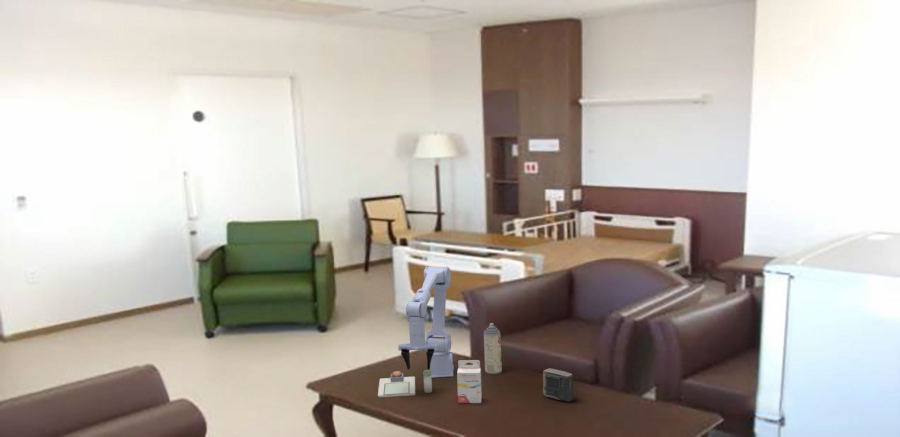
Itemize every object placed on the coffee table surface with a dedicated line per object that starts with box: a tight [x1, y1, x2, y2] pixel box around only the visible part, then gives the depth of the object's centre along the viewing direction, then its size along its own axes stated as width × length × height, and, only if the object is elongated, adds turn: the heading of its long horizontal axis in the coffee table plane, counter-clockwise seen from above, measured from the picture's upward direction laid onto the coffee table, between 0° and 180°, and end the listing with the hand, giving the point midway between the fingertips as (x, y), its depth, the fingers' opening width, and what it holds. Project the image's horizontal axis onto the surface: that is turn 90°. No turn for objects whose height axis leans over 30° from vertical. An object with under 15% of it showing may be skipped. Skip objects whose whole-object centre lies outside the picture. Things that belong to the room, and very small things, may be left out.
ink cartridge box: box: [456, 359, 483, 404], centre depth 260 cm, size 9×5×15 cm, turn 84°
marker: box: [422, 369, 433, 394], centre depth 272 cm, size 3×3×8 cm
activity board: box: [377, 372, 416, 398], centre depth 277 cm, size 14×18×3 cm
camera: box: [542, 368, 574, 403], centre depth 259 cm, size 11×6×10 cm, turn 47°
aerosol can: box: [483, 322, 503, 375], centre depth 289 cm, size 7×7×20 cm
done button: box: [392, 370, 402, 377], centre depth 284 cm, size 3×3×2 cm
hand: (418, 368), depth 269 cm, fingers open, 7 cm apart
